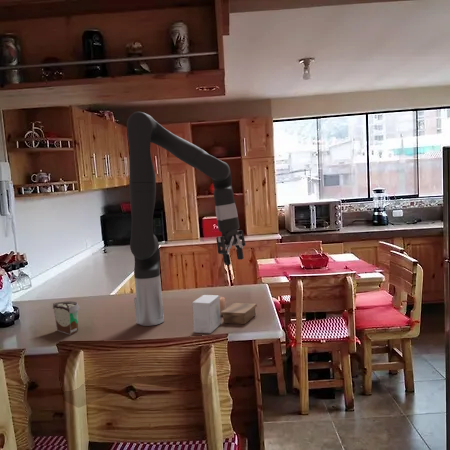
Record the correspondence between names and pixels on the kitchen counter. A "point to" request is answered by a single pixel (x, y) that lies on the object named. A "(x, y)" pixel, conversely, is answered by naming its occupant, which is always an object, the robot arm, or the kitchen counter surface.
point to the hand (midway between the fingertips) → (234, 262)
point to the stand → (239, 313)
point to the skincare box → (206, 313)
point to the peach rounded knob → (222, 304)
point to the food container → (66, 316)
